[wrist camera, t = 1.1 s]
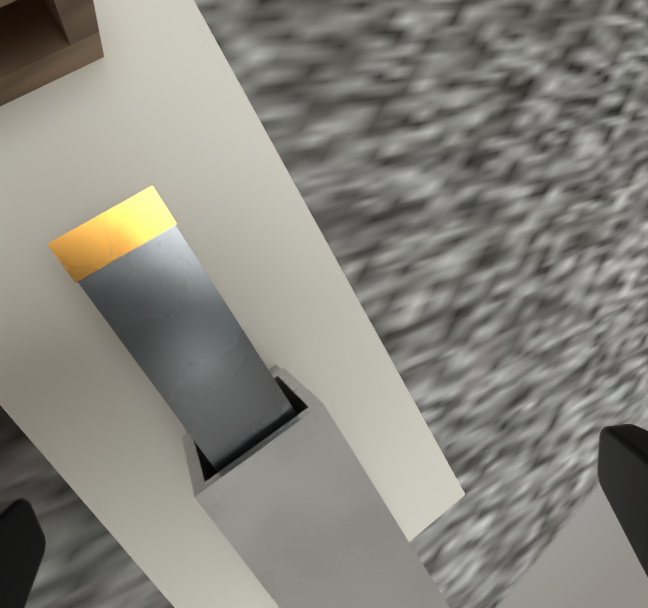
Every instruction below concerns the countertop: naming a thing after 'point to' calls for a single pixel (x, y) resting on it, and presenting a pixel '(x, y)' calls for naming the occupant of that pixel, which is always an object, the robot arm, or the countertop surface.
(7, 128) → the base board
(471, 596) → the countertop surface
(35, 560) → the robot arm
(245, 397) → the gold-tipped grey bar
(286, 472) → the outer sleeve
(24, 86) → the socket block
